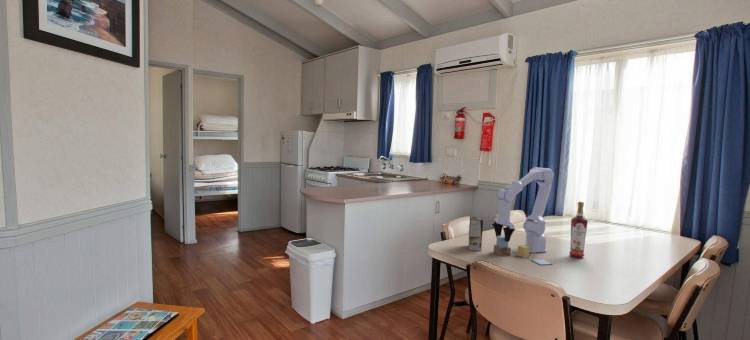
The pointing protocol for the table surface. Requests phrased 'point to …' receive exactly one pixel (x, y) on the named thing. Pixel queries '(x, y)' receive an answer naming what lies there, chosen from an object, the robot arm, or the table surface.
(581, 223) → the liquor
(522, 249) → the ochre block
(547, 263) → the tile
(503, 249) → the walnut block
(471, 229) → the coffee box
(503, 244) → the blue block
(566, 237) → the table surface
